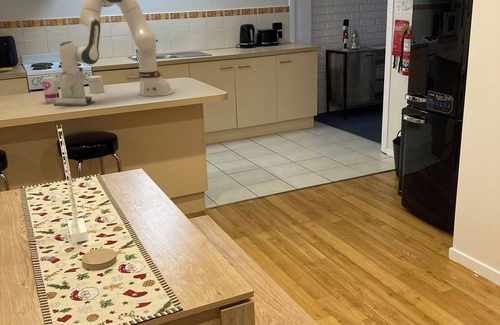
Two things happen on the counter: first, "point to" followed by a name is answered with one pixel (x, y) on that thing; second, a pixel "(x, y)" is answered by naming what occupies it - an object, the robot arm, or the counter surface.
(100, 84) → the small box
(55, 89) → the supplement can
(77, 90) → the door panel
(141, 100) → the counter surface
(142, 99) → the counter surface
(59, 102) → the bottom track
